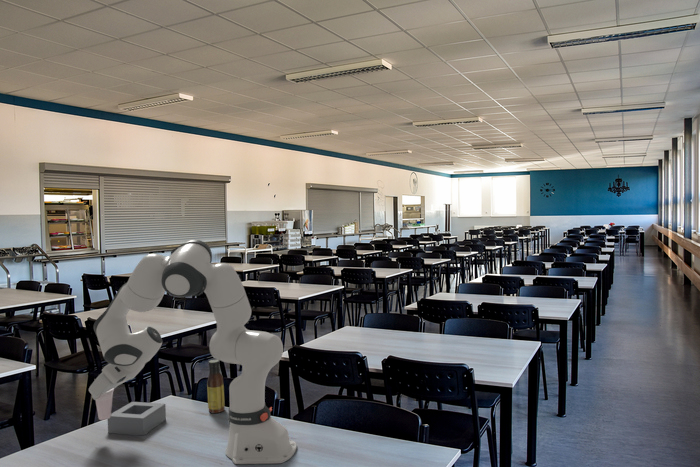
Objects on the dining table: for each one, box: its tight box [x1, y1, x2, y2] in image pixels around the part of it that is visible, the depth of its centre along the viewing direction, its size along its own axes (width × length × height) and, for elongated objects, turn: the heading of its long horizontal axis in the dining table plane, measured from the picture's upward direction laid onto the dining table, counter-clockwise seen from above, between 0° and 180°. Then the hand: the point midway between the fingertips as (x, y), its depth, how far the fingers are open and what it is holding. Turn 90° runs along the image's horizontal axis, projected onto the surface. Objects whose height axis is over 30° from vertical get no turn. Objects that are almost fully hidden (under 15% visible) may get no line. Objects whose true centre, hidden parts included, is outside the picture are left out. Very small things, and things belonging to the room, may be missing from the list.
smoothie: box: [94, 388, 115, 421], centre depth 173 cm, size 6×6×14 cm
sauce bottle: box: [206, 359, 226, 414], centre depth 198 cm, size 6×6×20 cm
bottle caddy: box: [107, 401, 167, 436], centre depth 185 cm, size 14×14×6 cm
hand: (102, 393), depth 173 cm, fingers closed on smoothie, 6 cm apart
